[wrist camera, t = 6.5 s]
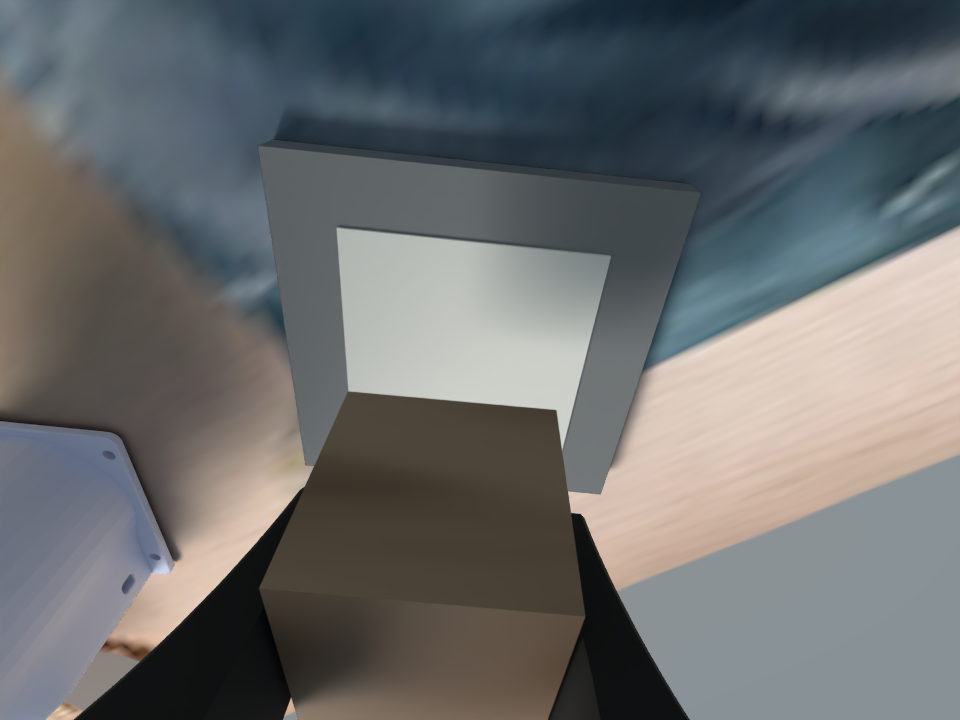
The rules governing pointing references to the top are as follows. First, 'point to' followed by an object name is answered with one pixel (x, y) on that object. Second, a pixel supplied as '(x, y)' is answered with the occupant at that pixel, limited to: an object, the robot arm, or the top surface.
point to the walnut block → (428, 566)
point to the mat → (470, 286)
